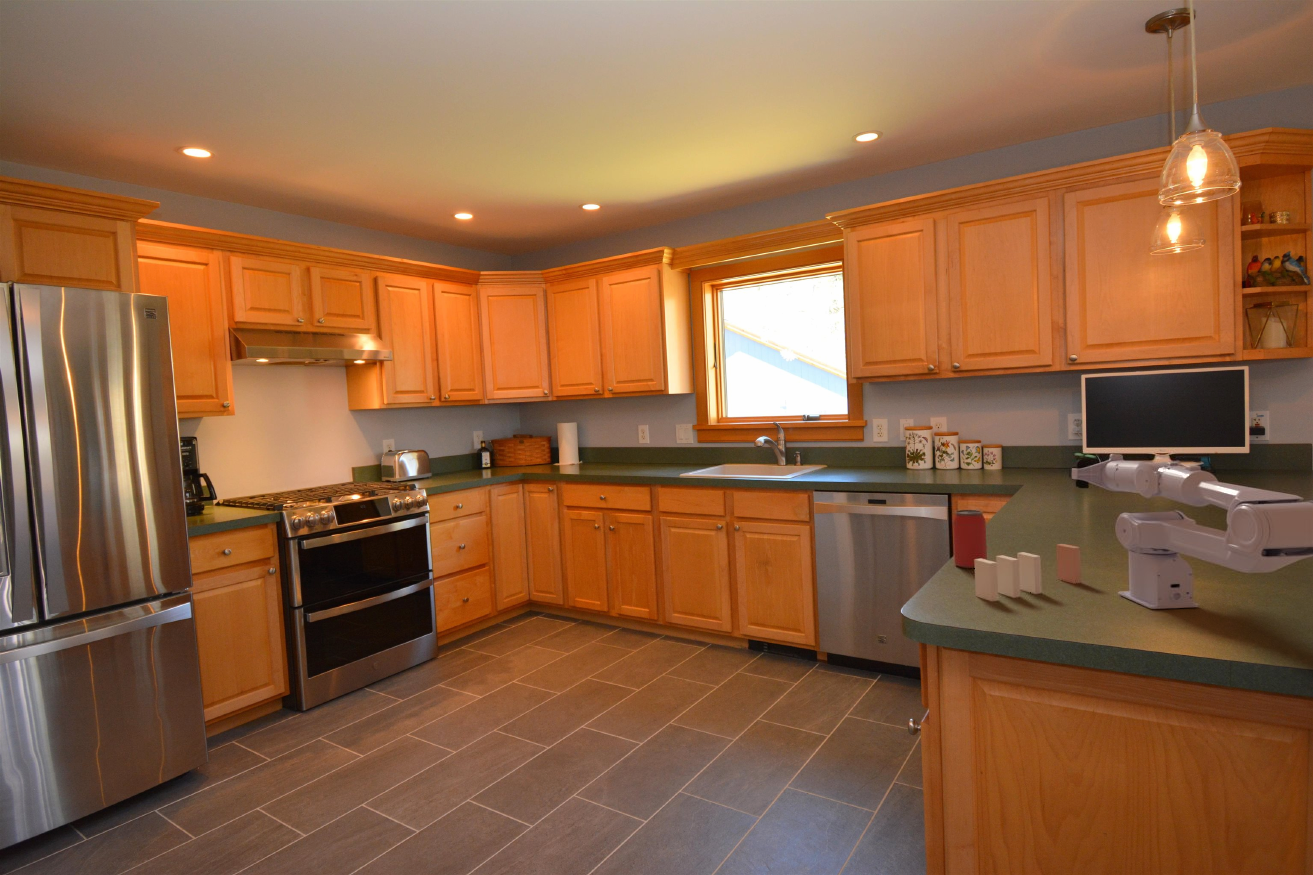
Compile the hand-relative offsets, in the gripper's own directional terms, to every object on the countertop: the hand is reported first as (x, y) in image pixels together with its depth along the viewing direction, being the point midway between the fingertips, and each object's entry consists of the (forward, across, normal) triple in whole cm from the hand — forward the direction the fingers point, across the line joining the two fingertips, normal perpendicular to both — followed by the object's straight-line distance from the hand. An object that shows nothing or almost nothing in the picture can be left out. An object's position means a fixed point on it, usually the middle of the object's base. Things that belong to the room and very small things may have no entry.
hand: (1090, 472), depth 142 cm
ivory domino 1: (-14, +25, +23) cm, 37 cm away
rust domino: (-4, +6, +21) cm, 22 cm away
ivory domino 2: (-12, +20, +23) cm, 33 cm away
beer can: (+11, +19, +22) cm, 31 cm away
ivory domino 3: (-10, +16, +22) cm, 29 cm away
